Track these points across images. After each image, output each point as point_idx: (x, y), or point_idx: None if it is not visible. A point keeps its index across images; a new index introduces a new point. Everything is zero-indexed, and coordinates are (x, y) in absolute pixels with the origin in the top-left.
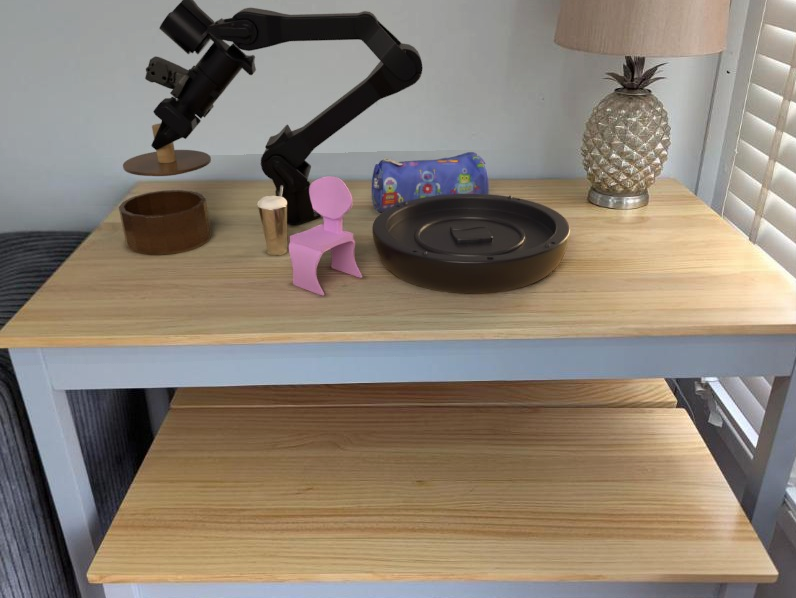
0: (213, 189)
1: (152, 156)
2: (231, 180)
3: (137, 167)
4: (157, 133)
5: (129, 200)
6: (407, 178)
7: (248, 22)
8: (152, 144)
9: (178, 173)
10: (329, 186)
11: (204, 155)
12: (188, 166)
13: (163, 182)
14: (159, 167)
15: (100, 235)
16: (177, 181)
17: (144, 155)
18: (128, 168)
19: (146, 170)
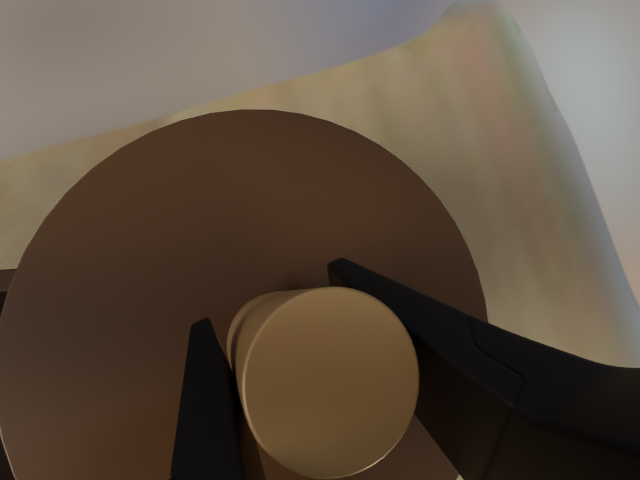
0: (519, 244)
1: (326, 202)
2: (596, 246)
3: (99, 263)
4: (177, 445)
5: (1, 289)
6: None
7: None
8: (189, 338)
9: None
10: None
11: (434, 471)
12: None
13: (513, 69)
14: (137, 397)
15: (42, 162)
16: (534, 102)
17: (327, 150)
18: (63, 223)
19: (50, 364)
